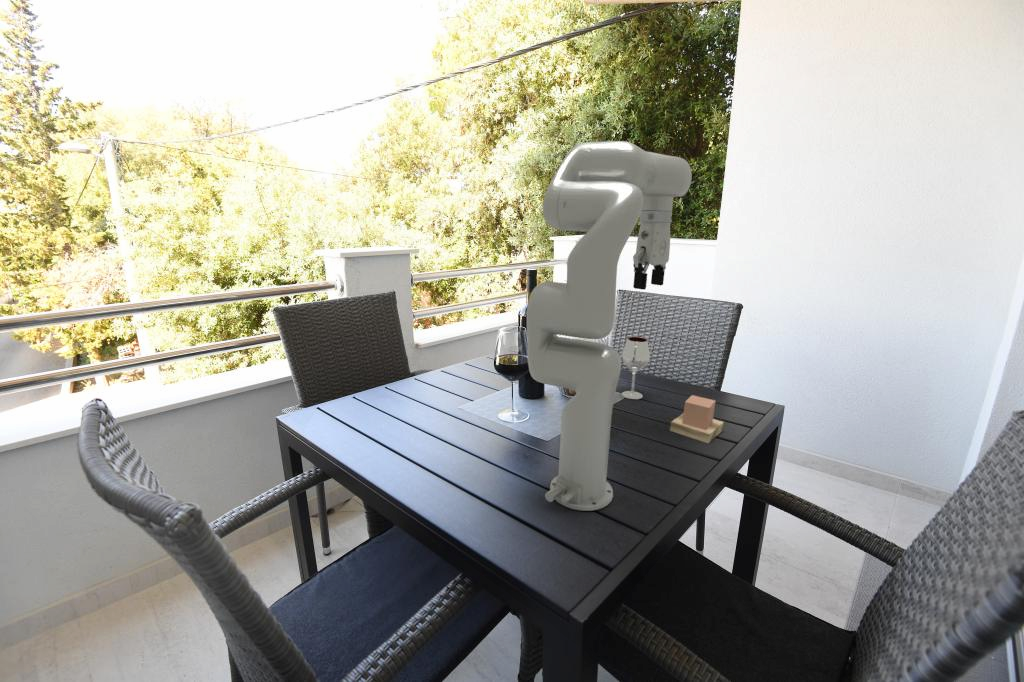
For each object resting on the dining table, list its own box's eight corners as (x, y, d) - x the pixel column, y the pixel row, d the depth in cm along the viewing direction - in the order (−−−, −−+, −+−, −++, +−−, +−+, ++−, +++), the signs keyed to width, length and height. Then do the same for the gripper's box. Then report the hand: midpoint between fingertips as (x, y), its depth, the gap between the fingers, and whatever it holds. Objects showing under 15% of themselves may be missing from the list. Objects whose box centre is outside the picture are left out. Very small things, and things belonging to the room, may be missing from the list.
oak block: (707, 445, 120) (709, 434, 119) (669, 432, 126) (670, 421, 126) (722, 432, 127) (723, 422, 126) (685, 420, 134) (686, 410, 133)
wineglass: (648, 401, 145) (654, 343, 140) (621, 400, 145) (626, 342, 140) (642, 391, 153) (647, 336, 148) (616, 390, 153) (621, 335, 148)
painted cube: (706, 430, 122) (709, 407, 120) (682, 423, 125) (685, 401, 123) (712, 422, 126) (715, 400, 125) (689, 415, 130) (691, 395, 128)
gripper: (653, 219, 111) (646, 292, 116) (684, 218, 124) (676, 285, 129) (624, 218, 116) (618, 288, 121) (656, 217, 129) (650, 281, 133)
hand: (648, 286), depth 125 cm, fingers open, 9 cm apart
